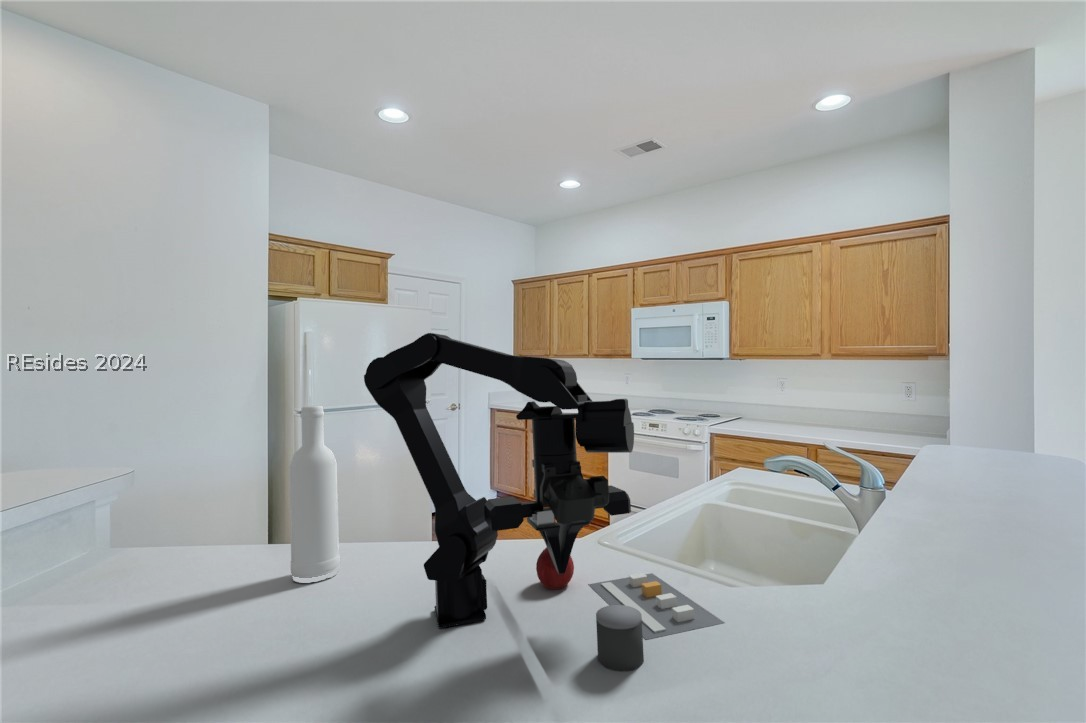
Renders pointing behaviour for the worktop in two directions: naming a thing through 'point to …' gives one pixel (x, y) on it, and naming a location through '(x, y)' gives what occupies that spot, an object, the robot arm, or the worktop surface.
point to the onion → (552, 571)
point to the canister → (619, 637)
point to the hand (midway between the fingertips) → (561, 573)
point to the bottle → (313, 501)
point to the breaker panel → (656, 606)
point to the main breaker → (651, 589)
